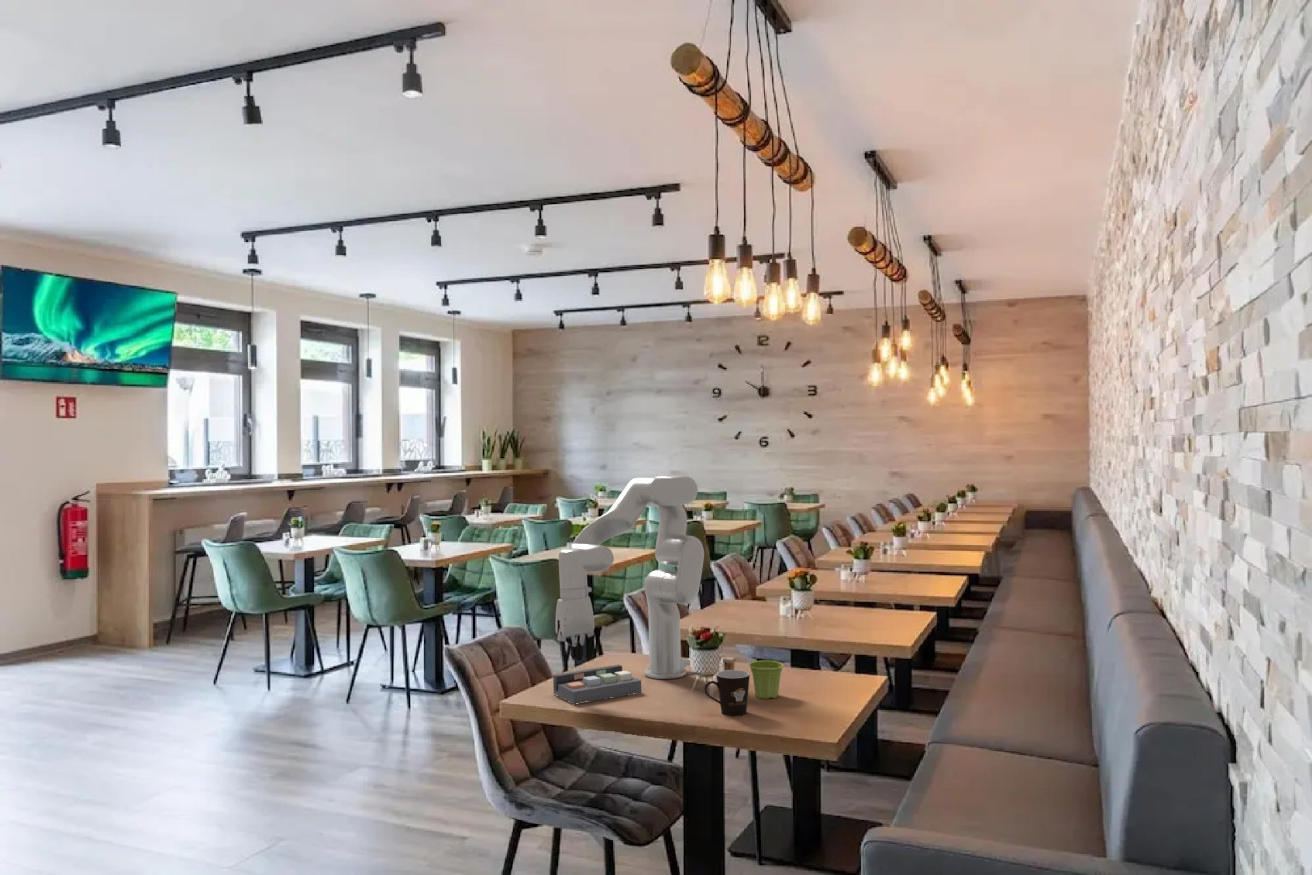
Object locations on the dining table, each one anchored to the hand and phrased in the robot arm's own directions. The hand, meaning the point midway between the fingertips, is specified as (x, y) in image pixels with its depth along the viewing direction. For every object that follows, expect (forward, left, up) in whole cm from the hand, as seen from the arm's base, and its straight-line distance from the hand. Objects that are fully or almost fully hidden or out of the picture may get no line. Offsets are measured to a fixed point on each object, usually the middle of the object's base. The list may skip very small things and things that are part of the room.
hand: (577, 659), depth 261 cm
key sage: (-9, 0, -8) cm, 12 cm away
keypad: (-7, -1, -11) cm, 13 cm away
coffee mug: (-26, +35, -11) cm, 45 cm away
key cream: (-14, 0, -8) cm, 16 cm away
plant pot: (-44, +28, -11) cm, 53 cm away
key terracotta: (+1, 0, -9) cm, 9 cm away
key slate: (-4, 0, -8) cm, 9 cm away
